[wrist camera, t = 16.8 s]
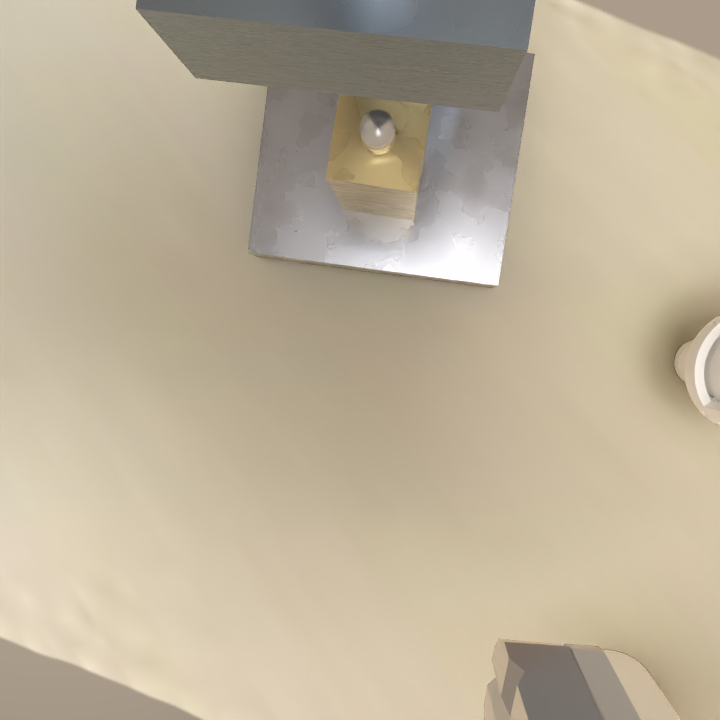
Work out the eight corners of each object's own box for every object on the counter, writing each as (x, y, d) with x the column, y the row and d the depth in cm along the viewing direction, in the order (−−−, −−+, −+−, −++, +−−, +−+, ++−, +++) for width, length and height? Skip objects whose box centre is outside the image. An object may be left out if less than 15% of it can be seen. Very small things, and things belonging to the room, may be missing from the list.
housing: (343, 209, 35) (321, 170, 26) (354, 137, 35) (336, 70, 25) (413, 220, 35) (417, 184, 26) (426, 147, 35) (434, 83, 25)
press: (257, 256, 38) (-41, 130, 13) (283, 45, 37) (12, -571, 11) (491, 288, 37) (689, 220, 12) (525, 71, 36) (831, -543, 10)
